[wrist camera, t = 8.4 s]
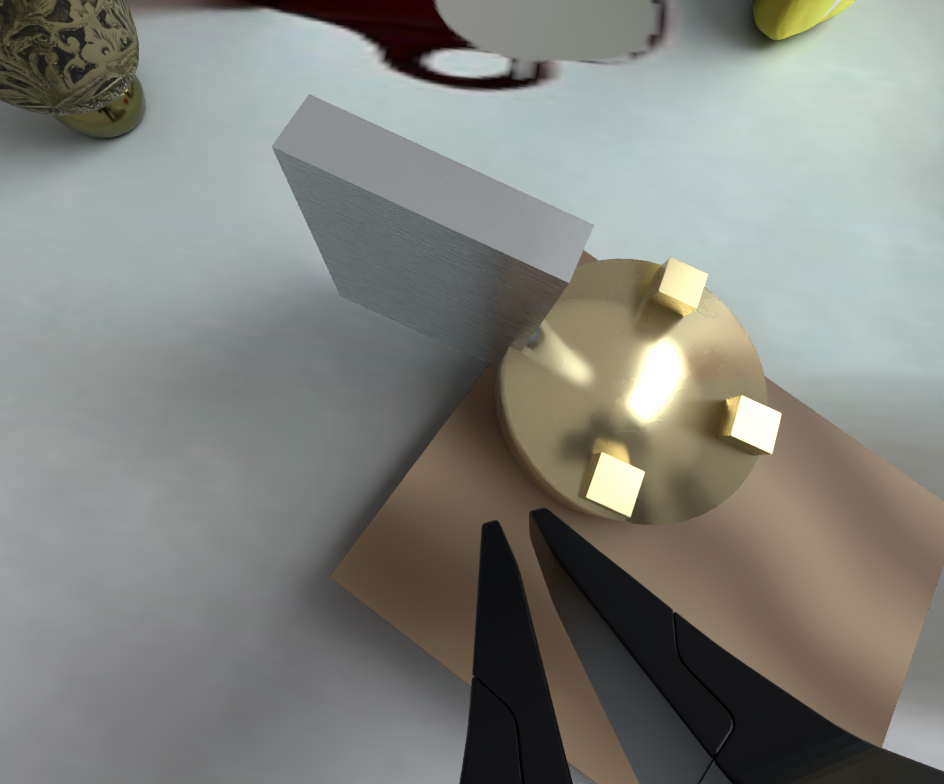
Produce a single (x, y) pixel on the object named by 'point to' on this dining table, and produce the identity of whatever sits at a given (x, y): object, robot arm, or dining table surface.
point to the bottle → (793, 15)
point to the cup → (72, 63)
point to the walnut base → (678, 568)
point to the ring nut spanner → (541, 321)
